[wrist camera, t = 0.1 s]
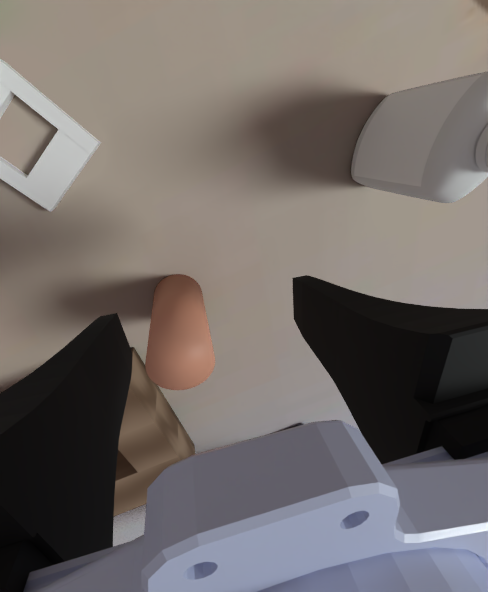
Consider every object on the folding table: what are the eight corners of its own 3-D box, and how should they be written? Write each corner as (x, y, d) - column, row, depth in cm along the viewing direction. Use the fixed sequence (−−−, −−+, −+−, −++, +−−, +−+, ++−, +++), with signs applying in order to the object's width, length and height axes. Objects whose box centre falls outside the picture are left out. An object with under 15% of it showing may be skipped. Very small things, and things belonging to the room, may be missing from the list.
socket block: (194, 445, 30) (197, 483, 27) (83, 487, 30) (72, 532, 26) (133, 347, 23) (126, 382, 20) (-13, 400, 23) (-46, 445, 19)
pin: (208, 306, 23) (223, 375, 16) (165, 322, 23) (162, 398, 16) (192, 267, 21) (201, 326, 14) (146, 284, 21) (132, 351, 14)
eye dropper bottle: (330, 147, 20) (509, 150, 9) (398, 82, 19) (682, 3, 8) (360, 196, 22) (533, 243, 11) (422, 139, 21) (673, 134, 10)
